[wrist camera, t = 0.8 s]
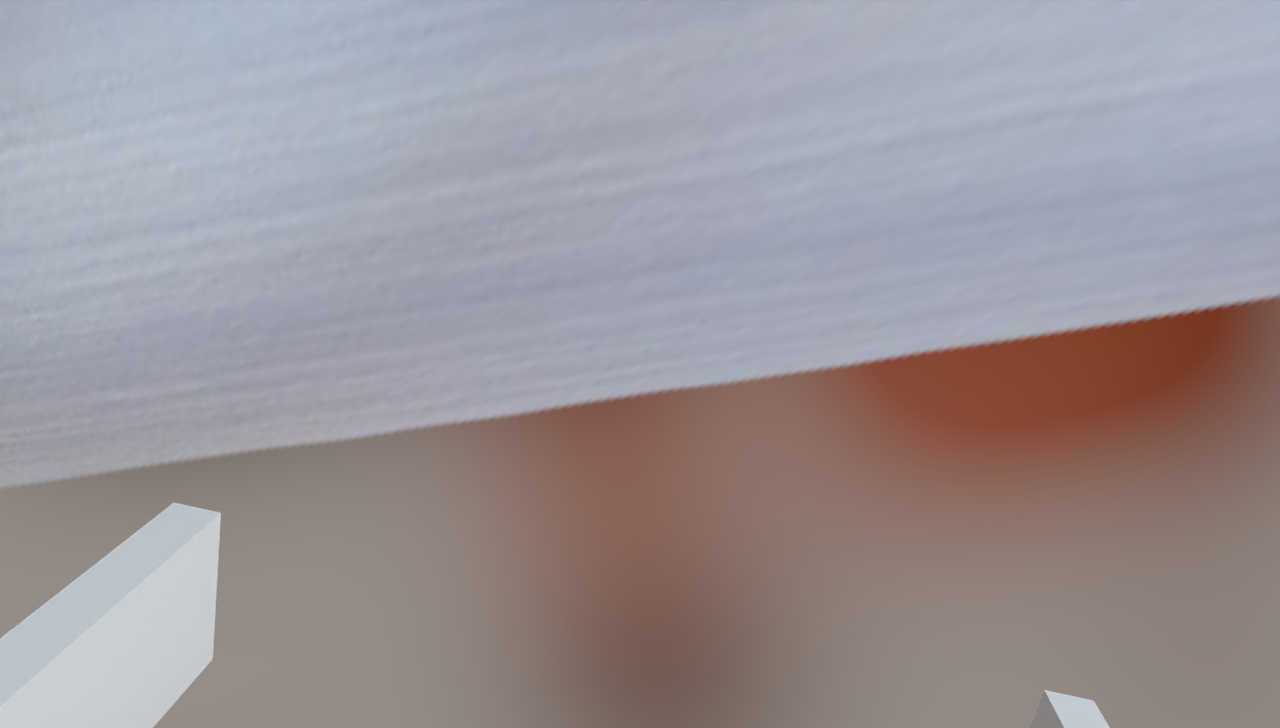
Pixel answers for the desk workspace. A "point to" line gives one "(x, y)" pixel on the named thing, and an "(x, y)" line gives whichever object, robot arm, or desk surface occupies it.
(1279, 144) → the desk surface
